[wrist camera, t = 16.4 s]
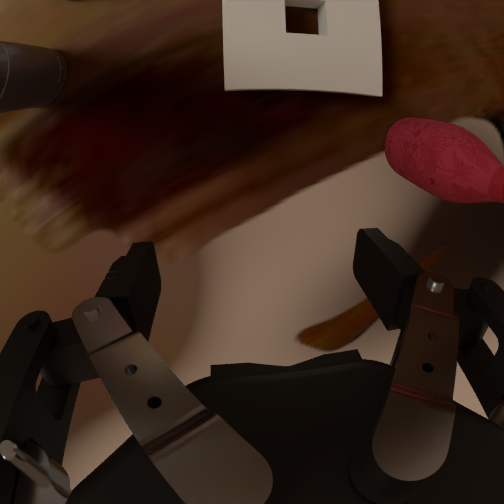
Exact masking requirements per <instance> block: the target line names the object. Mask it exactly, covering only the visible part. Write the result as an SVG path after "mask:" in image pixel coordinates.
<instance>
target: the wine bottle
mask: <svg viewBox="0 0 504 504" xmlns="http://www.w3.org/2000/svg"><path fill="white" fill-rule="evenodd" d="M385 155H386V158H387V161H388V163H389V164H390V166H391V167H392V169H393V170H394V171H395V172H397V173H398V174H399V175H400V176H402V177H404V178H405V179H407V180H408V181H410V182H412V183H413V184H415V185H417V186H418V187H420V188H422V189H423V190H425V191H427V192H429V193H430V194H432V195H435V196H436V197H438V198H441V199H443V200H447V201H451V202H457V203H479V202H501V203H504V166H503V165H502V163H501V162H500V161H499V160H498V159H497V157H495V155H494V154H493V153H492V151H491V150H490V149H489V148H488V147H487V146H486V145H485V144H484V143H483V142H482V141H481V140H480V139H479V138H477V137H476V136H475V135H474V134H472V133H471V132H469V131H468V130H466V129H464V128H462V127H460V126H457V125H454V124H451V123H447V122H442V121H438V120H432V119H425V118H417V117H406V118H403V119H400V120H398V121H397V122H395V123H394V124H393V125H392V126H391V128H390V129H389V131H388V133H387V135H386V139H385Z"/></svg>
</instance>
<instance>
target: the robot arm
mask: <svg viewBox="0 0 504 504" xmlns="http://www.w3.org/2000/svg"><path fill="white" fill-rule="evenodd" d="M66 77H67V63H66V61H65V58H64V57H63V55H62V54H61V53H60V52H59V51H57V50H54V49H49V48H44V47H39V46H33V45H27V44H20V43H13V42H5V41H0V113H5V112H11V111H17V110H23V109H30V108H37V107H43V106H46V105H48V104H50V103H51V102H52V101H54V100H55V99H56V98H57V96H58V95H59V94H60V92H61V91H62V89H63V87H64V84H65V82H66ZM353 271H354V276H355V278H356V280H357V282H358V283H359V285H360V286H361V288H362V290H363V291H364V293H365V295H366V296H367V298H368V299H369V301H370V303H371V304H372V306H373V308H374V309H375V311H376V312H377V314H378V316H379V317H380V319H381V321H382V322H383V324H384V326H385V328H386V329H387V330H388V331H389V330H395V329H400V330H401V332H400V335H399V337H398V341H397V344H396V347H395V350H394V354H393V357H392V360H391V363H390V365H388V364H385V363H382V362H378V361H374V360H366V359H362V358H361V356H360V354H359V352H358V349H356V350H350V351H344V352H337V353H330V354H324V355H321V356H318V357H315V358H313V359H310V360H307V361H304V362H301V363H298V364H295V365H292V366H274V365H264V364H255V363H237V364H224V365H223V364H221V365H211V376H209V377H205V378H202V379H199V380H197V381H194V382H192V383H190V384H188V385H186V386H185V385H184V384H183V383H182V382H181V381H180V380H179V379H178V377H177V376H176V375H175V374H174V373H173V372H172V371H171V369H170V368H169V367H168V366H167V365H166V364H165V362H164V361H163V360H162V359H161V358H160V356H159V355H158V354H157V353H156V352H155V350H154V349H153V348H152V347H151V346H150V344H149V343H148V341H149V337H150V333H151V328H152V324H153V320H154V316H155V312H156V308H157V304H158V301H159V297H160V293H161V277H160V272H159V267H158V263H157V258H156V253H155V248H154V244H153V242H139V243H133V244H132V246H131V248H130V250H129V251H128V253H127V255H126V256H121V257H120V258H119V259H118V260H116V261H115V262H114V263H113V264H112V266H111V268H110V270H109V273H107V275H106V277H105V279H104V280H103V282H102V284H101V286H100V288H99V290H98V292H97V293H96V295H95V297H94V298H90V299H87V300H85V301H83V302H81V303H80V304H79V305H78V306H76V307H75V309H74V310H73V312H72V318H69V319H65V320H61V321H57V322H52V320H51V318H50V316H49V314H48V313H47V312H45V311H34V312H31V313H29V314H27V315H25V316H24V317H22V318H21V319H20V320H19V321H18V323H17V324H16V326H15V328H14V329H13V331H12V333H11V335H10V336H9V338H8V340H7V342H6V344H5V346H4V347H3V349H2V351H1V353H0V504H504V291H503V290H502V289H501V288H500V286H498V285H497V284H496V283H495V282H493V281H492V280H490V279H487V278H483V277H476V278H473V279H472V281H471V284H470V286H469V289H458V288H454V286H453V283H452V282H451V281H450V280H449V279H448V278H447V277H445V276H443V275H441V274H438V273H434V272H425V271H424V270H423V269H422V268H421V267H420V266H419V264H418V263H417V262H416V261H415V260H414V259H413V258H411V256H410V255H409V254H408V253H406V251H405V250H404V249H403V248H402V247H401V246H400V245H399V244H397V243H396V242H394V241H392V240H390V239H388V238H387V237H386V236H385V235H384V234H383V233H382V232H381V231H380V230H379V229H378V228H367V229H359V231H358V233H357V239H356V247H355V254H354V260H353ZM488 326H489V327H490V328H491V330H492V331H493V332H494V334H495V335H496V336H497V338H498V342H499V347H498V350H497V352H496V354H495V356H494V355H493V353H492V352H491V350H490V349H489V347H488V346H487V344H486V343H485V341H484V340H483V339H482V338H483V336H484V334H485V332H486V330H487V328H488ZM457 362H458V364H459V365H460V367H461V369H462V371H463V372H464V374H465V376H466V378H467V379H468V381H469V382H470V385H471V386H472V388H473V390H474V392H475V394H476V396H477V397H478V399H479V401H480V403H481V405H482V407H483V409H484V411H485V413H486V415H487V417H488V419H489V420H488V419H487V418H485V417H483V416H481V415H479V414H477V413H475V412H474V411H472V410H470V409H468V408H466V407H464V406H463V405H461V404H459V403H457V402H455V401H454V400H453V392H454V384H455V376H456V367H457ZM39 373H40V374H41V375H42V379H41V382H40V385H39V387H38V390H37V393H36V387H35V386H36V380H37V378H38V375H39ZM96 378H100V379H101V381H102V383H103V384H104V386H105V388H106V390H107V392H108V394H109V395H110V397H111V399H112V401H113V402H114V404H115V406H116V407H117V409H118V411H119V412H120V414H121V416H122V417H123V419H124V421H125V422H126V424H127V425H128V427H129V428H130V430H131V431H132V433H133V435H131V437H129V438H128V439H127V440H126V441H125V442H124V443H123V444H122V445H121V446H120V447H119V448H118V449H117V450H115V451H114V453H112V454H111V455H110V456H109V457H108V458H107V459H106V460H105V461H104V462H102V463H101V464H100V465H99V466H98V467H97V468H96V469H95V470H94V471H93V472H91V473H90V474H89V475H88V476H87V477H86V478H85V479H84V480H82V481H81V482H80V483H79V484H78V485H77V486H76V487H75V488H74V489H73V490H72V492H71V489H70V480H69V476H68V474H67V472H66V470H65V469H64V468H63V467H62V461H63V456H64V450H65V446H66V440H67V436H68V431H69V427H70V422H71V418H72V414H73V410H74V406H75V402H76V398H77V394H78V391H79V387H80V383H81V382H82V381H87V380H91V379H96Z"/></svg>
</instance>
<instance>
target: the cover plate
mask: <svg viewBox="0 0 504 504" xmlns="http://www.w3.org/2000/svg"><path fill="white" fill-rule="evenodd" d="M285 6H291V7H304V8H314V9H318V28H319V35H312V34H299V33H286V20H285ZM222 7H223V49H224V81H225V91H243V90H296V91H319V92H333V93H345V94H355V95H364V96H382V45H381V27H380V13H379V2H378V0H222Z"/></svg>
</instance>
